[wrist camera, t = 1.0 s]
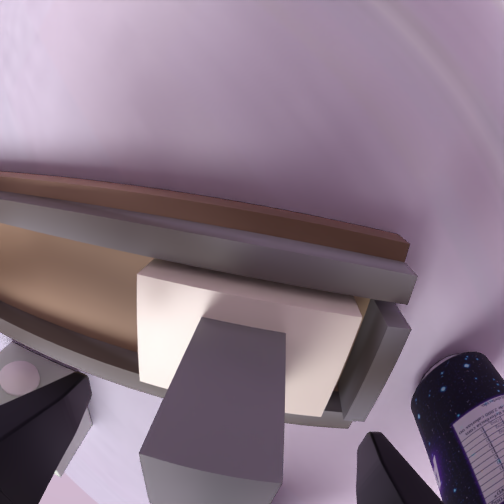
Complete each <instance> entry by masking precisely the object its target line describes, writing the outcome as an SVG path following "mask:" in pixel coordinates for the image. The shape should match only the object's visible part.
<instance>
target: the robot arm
mask: <svg viewBox="0 0 504 504" xmlns="http://www.w3.org/2000/svg"><path fill="white" fill-rule="evenodd" d="M91 395H92V392H91V387H90V383H89V378H88V376H87V375H85V374H83V373H80V372H73V373H71V374H69V375H67V376H65V377H63V378H60V379H58V380H56V381H54V382H52V383H49V384H47V385H45V386H43V387H40V388H38V389H36V390H34V391H31V392H29V393H27V394H25V395H22V396H20V397H18V398H15V399H13V400H11V401H9V402H6V403H4V404H2V405H0V504H38V503H39V502H40V499H41V498H42V496H43V494H44V492H45V490H46V488H47V486H48V484H49V482H50V480H51V478H52V476H53V474H54V473H55V471H56V469H57V467H58V465H59V463H60V461H61V460H62V458H63V456H64V454H65V452H66V450H67V449H68V447H69V445H70V443H71V442H72V440H73V438H74V436H75V434H76V432H77V430H78V428H79V425H80V423H81V420H82V418H83V415H84V413H85V411H86V408H87V406H88V404H89V401H90V399H91ZM356 495H357V504H444V503H443V501H440V498H439V497H438V496H437V495H436V494H435V493H434V492H433V490H432V489H431V488H430V487H429V486H428V485H427V484H426V483H425V481H424V480H423V479H422V478H421V477H420V476H419V475H418V474H417V472H416V471H415V470H414V469H413V468H412V467H411V466H410V465H409V463H408V462H407V461H406V460H405V459H404V458H403V457H402V455H401V454H400V453H399V452H398V451H397V450H396V449H395V447H394V446H393V445H392V444H391V443H390V442H389V441H388V439H387V438H386V437H385V436H384V435H383V434H382V433H381V432H369V433H367V435H366V436H365V438H364V439H363V441H362V442H361V444H360V445H359V447H358V450H357V481H356Z"/></svg>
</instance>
